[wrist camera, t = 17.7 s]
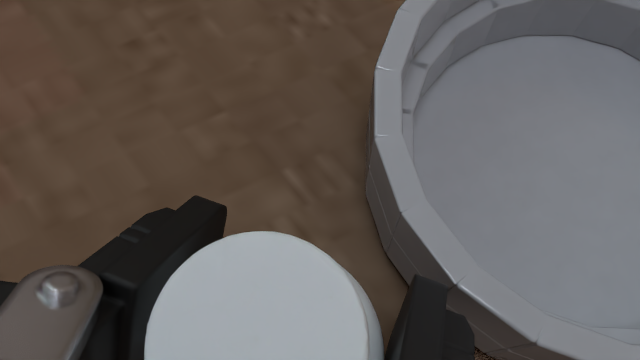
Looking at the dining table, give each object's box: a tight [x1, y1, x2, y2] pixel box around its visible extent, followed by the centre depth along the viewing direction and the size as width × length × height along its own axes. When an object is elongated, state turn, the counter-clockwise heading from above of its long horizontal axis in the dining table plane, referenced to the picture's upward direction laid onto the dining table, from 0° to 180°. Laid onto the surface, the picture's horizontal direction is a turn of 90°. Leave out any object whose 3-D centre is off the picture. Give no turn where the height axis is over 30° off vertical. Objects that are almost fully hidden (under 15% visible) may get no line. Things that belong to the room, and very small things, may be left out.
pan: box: [365, 0, 640, 360], centre depth 15 cm, size 12×12×4 cm
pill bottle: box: [144, 231, 384, 360], centre depth 12 cm, size 4×4×8 cm
